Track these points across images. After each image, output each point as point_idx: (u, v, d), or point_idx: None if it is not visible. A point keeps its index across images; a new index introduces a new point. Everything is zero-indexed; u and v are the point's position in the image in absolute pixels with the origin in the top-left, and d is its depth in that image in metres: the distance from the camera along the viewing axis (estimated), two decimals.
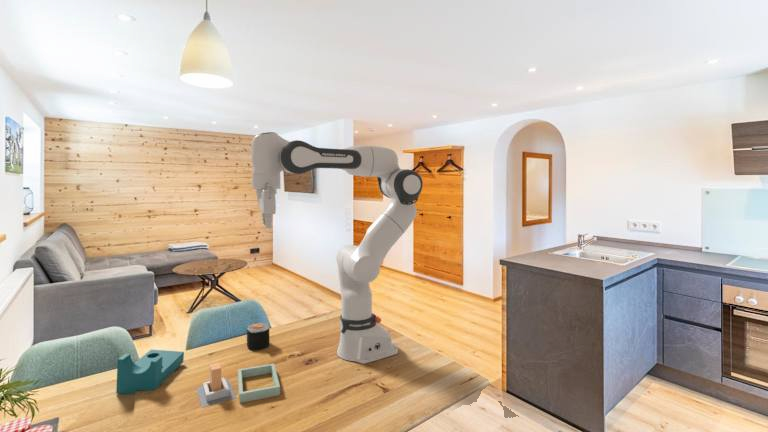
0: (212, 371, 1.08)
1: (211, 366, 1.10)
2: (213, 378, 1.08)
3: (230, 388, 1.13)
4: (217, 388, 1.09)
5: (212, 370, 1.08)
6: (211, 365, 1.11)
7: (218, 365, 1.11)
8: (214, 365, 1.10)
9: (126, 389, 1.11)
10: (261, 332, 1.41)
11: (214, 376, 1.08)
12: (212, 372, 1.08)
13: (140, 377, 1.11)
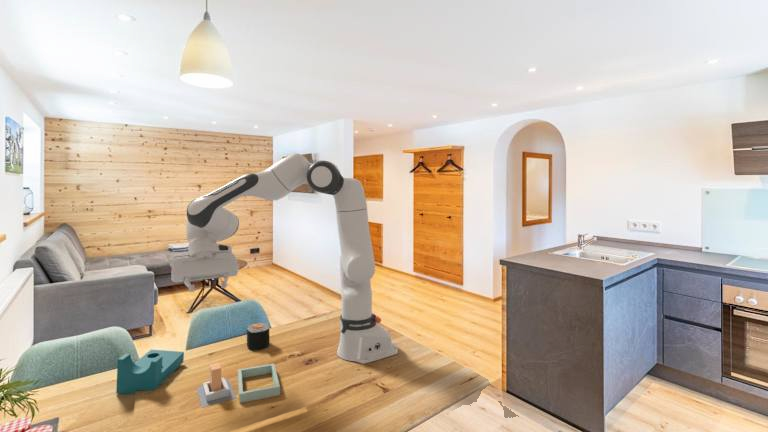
0: (212, 371, 1.08)
1: (211, 366, 1.10)
2: (213, 378, 1.08)
3: (230, 388, 1.13)
4: (217, 388, 1.09)
5: (212, 370, 1.08)
6: (211, 365, 1.11)
7: (218, 365, 1.11)
8: (214, 365, 1.10)
9: (126, 389, 1.11)
10: (261, 332, 1.41)
11: (214, 376, 1.08)
12: (212, 372, 1.08)
13: (140, 377, 1.11)
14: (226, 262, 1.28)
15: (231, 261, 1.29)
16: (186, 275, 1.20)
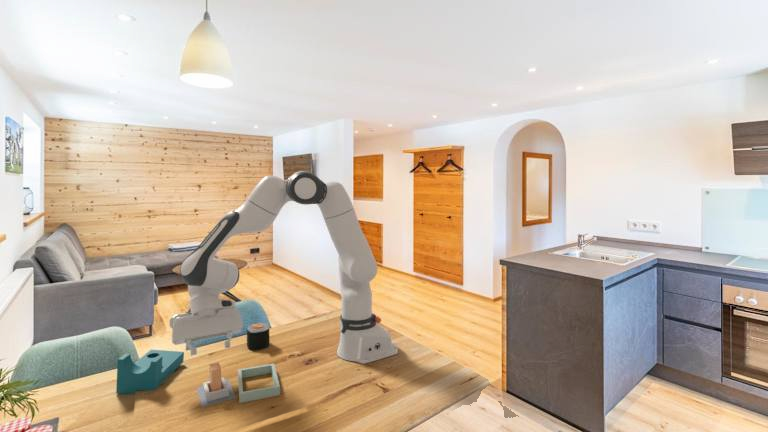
0: (212, 371, 1.08)
1: (211, 366, 1.10)
2: (213, 378, 1.08)
3: (230, 388, 1.13)
4: (217, 388, 1.09)
5: (212, 370, 1.08)
6: (211, 365, 1.11)
7: (218, 365, 1.11)
8: (214, 365, 1.10)
9: (126, 389, 1.11)
10: (261, 332, 1.41)
11: (214, 376, 1.08)
12: (212, 372, 1.08)
13: (140, 377, 1.11)
14: (229, 319, 1.22)
15: (234, 317, 1.23)
16: (187, 337, 1.14)
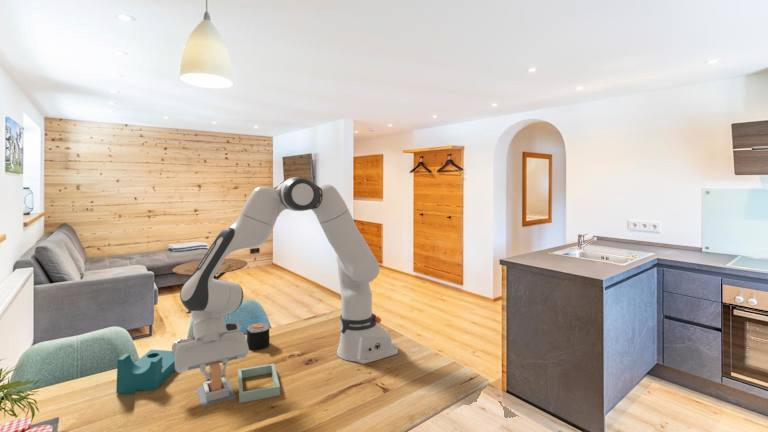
0: (212, 371, 1.08)
1: (211, 366, 1.10)
2: (213, 378, 1.08)
3: (230, 388, 1.13)
4: (217, 388, 1.09)
5: (212, 370, 1.08)
6: (211, 365, 1.11)
7: (218, 365, 1.11)
8: (214, 365, 1.10)
9: (126, 389, 1.11)
10: (261, 332, 1.41)
11: (214, 376, 1.08)
12: (212, 372, 1.08)
13: (140, 377, 1.11)
14: (234, 344, 1.16)
15: (240, 341, 1.17)
16: (191, 365, 1.08)
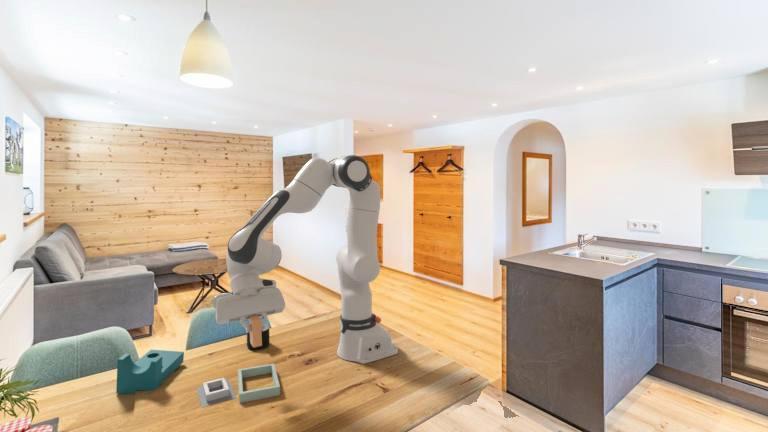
0: (253, 322, 1.11)
1: (251, 318, 1.13)
2: (254, 329, 1.11)
3: (230, 388, 1.13)
4: (258, 340, 1.12)
5: (253, 321, 1.11)
6: (251, 317, 1.13)
7: (258, 317, 1.13)
8: (253, 318, 1.13)
9: (126, 389, 1.11)
10: None
11: (255, 327, 1.11)
12: (253, 323, 1.11)
13: (140, 377, 1.11)
14: (271, 299, 1.19)
15: (276, 297, 1.20)
16: (232, 316, 1.11)
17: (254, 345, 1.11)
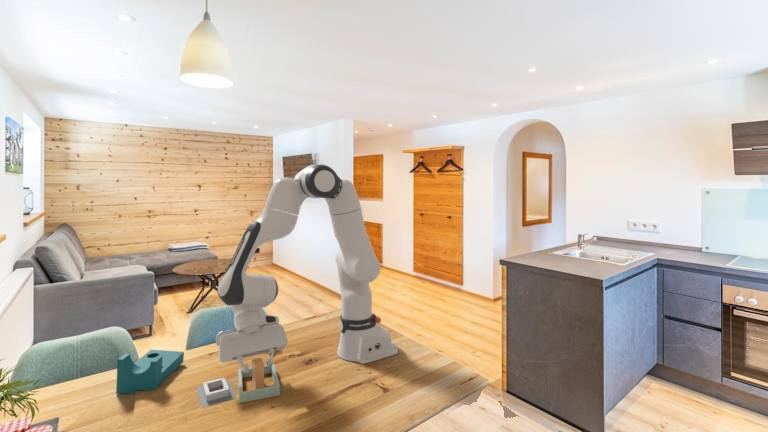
0: (256, 366, 1.12)
1: (254, 361, 1.14)
2: (256, 373, 1.12)
3: (230, 388, 1.13)
4: (260, 383, 1.13)
5: (256, 365, 1.12)
6: (254, 360, 1.15)
7: (260, 360, 1.15)
8: (256, 361, 1.14)
9: (126, 389, 1.11)
10: None
11: (257, 371, 1.12)
12: (256, 367, 1.12)
13: (140, 377, 1.11)
14: (274, 335, 1.20)
15: (279, 333, 1.21)
16: (235, 355, 1.12)
17: (256, 388, 1.13)
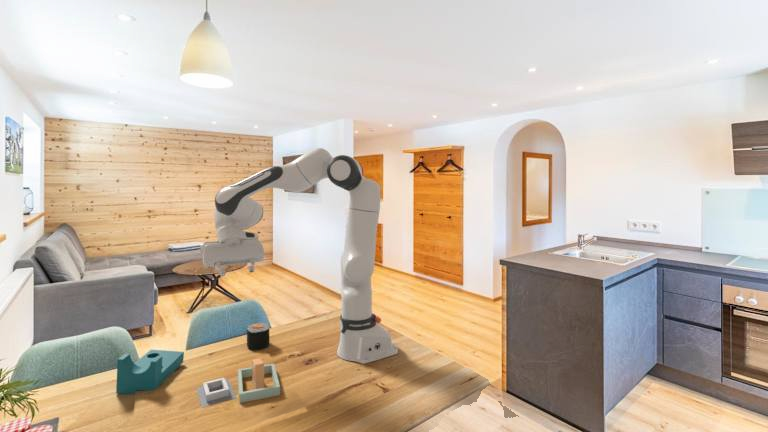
0: (256, 366, 1.12)
1: (254, 361, 1.14)
2: (256, 373, 1.12)
3: (230, 388, 1.13)
4: (260, 383, 1.13)
5: (256, 365, 1.12)
6: (254, 360, 1.15)
7: (260, 360, 1.15)
8: (256, 361, 1.14)
9: (126, 389, 1.11)
10: (261, 332, 1.41)
11: (257, 371, 1.12)
12: (256, 367, 1.12)
13: (140, 377, 1.11)
14: (253, 248, 1.35)
15: (257, 247, 1.36)
16: (217, 260, 1.27)
17: (256, 388, 1.13)
